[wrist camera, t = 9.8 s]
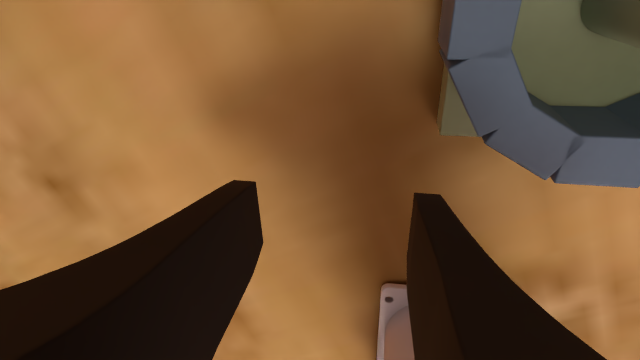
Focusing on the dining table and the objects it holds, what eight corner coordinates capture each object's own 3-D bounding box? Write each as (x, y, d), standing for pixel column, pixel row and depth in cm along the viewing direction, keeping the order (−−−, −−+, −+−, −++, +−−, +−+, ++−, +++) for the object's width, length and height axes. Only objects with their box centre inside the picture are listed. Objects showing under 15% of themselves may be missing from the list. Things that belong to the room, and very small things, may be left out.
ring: (716, 155, 14) (786, 197, 12) (424, 142, 16) (430, 176, 13) (944, -254, 9) (1165, -341, 6) (467, -206, 11) (489, -258, 8)
